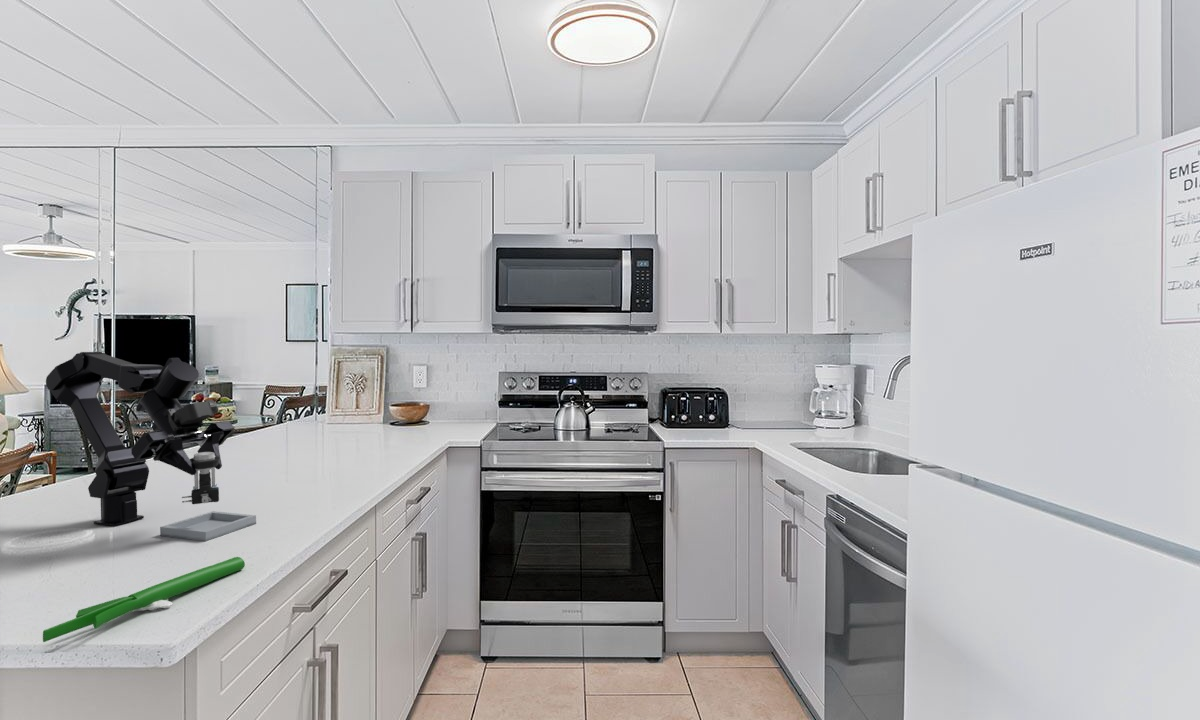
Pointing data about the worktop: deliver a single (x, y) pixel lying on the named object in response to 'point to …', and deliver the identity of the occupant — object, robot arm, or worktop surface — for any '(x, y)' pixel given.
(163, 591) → the green onion
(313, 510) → the worktop surface
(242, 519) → the tray
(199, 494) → the push button
